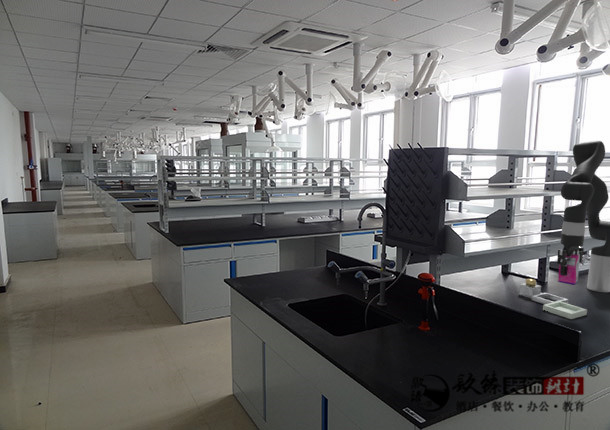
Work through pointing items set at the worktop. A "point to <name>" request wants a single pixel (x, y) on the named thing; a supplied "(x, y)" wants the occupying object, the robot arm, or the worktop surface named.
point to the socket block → (539, 294)
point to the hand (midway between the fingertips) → (568, 274)
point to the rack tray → (565, 309)
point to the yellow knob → (531, 282)
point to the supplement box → (570, 271)
